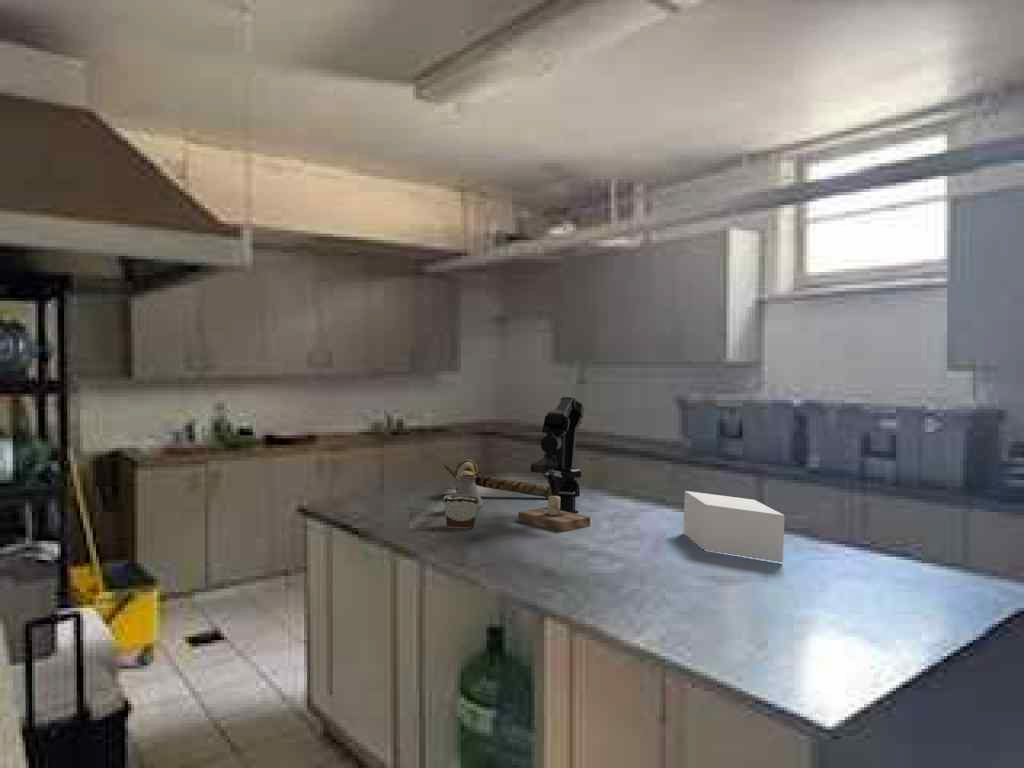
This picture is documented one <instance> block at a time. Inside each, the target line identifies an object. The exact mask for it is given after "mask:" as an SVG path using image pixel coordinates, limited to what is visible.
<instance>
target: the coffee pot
mask: <svg viewBox="0 0 1024 768" xmlns="http://www.w3.org/2000/svg"><path fill="white" fill-rule="evenodd" d="M443 467H444V469H443ZM441 469H442V470H447V471H448V472H449V474H451V475H452V476H454V477H455V478H454V477H453V478H454V479H457V480H458V481H459V482H460V484H459V486H458V489H457V491H456V490H455V493H454V494H466V495H474V496H477V497H478V499H479V502H480V505H479V503H478V507H477V513H478V511H480V510H481V509H482V507H483V506H484V502H483V501H482V497H481V495H480V493H479V489H478V487H477V485H476V484H475V478H476V477H477V476H476V475H460V476H459V478H460V479H459V478H458V477H457V475H456V474H455V473H454V470H452V469H451V468H450V467H449V466H448V465H446V464H444V465H443V466H442V467H441Z"/></svg>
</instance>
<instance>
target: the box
mask: <svg viewBox="0 0 1024 768" xmlns="http://www.w3.org/2000/svg"><path fill="white" fill-rule="evenodd" d="M683 502H684V503H683V527H682V528H683V529H682V530H683V533H684V534H686V535H687V536H688V537H689V538H690V539H692V540H693V541H694V542H695V543H697V544H698V545H699V546H700V547H702V548H703V549H704V550H708V551H713V552H721V553H727V554H733V555H740V556H746V557H752V558H759V559H765V560H771V561H778V562H783V563H784V561H783V560H784V540H785V538H784V537H785V536H784V535H785V518H786V517H785V514H783V513H781V512H779V511H778V510H775V509H773V508H771V507H769V506H767V505H765V504H764V503H762V502H759V501H758V500H756V499H750V498H744V497H736V496H728V495H721V494H713V493H705V492H696V491H689V490H688V491H687V490H685V491H684V501H683ZM684 534H683V535H684ZM686 535H685V536H686ZM687 536H686V537H687ZM688 537H687V538H688ZM689 538H688V539H689ZM690 539H689V540H690ZM693 541H692V542H693ZM694 542H693V543H694ZM695 543H694V544H695ZM699 546H698V547H699ZM700 547H699V548H700Z"/></svg>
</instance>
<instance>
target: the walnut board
mask: <svg viewBox="0 0 1024 768" xmlns="http://www.w3.org/2000/svg"><path fill="white" fill-rule="evenodd" d="M517 520H518V522H521V523H525V524H529V525H533V526H536V527H539V528H540V527H541V528H544V529H548V530H552V531H556V532H559V533H563V532H569V531H573V530H578V529H582V528H587V527H591V517H590V516H586V515H581V514H578V513H570V512H565V511H561V510H560V516H558V517H552V516H548V506H547V507H541V508H535V509H531V510H524V511H519V512H518V519H517Z"/></svg>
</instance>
